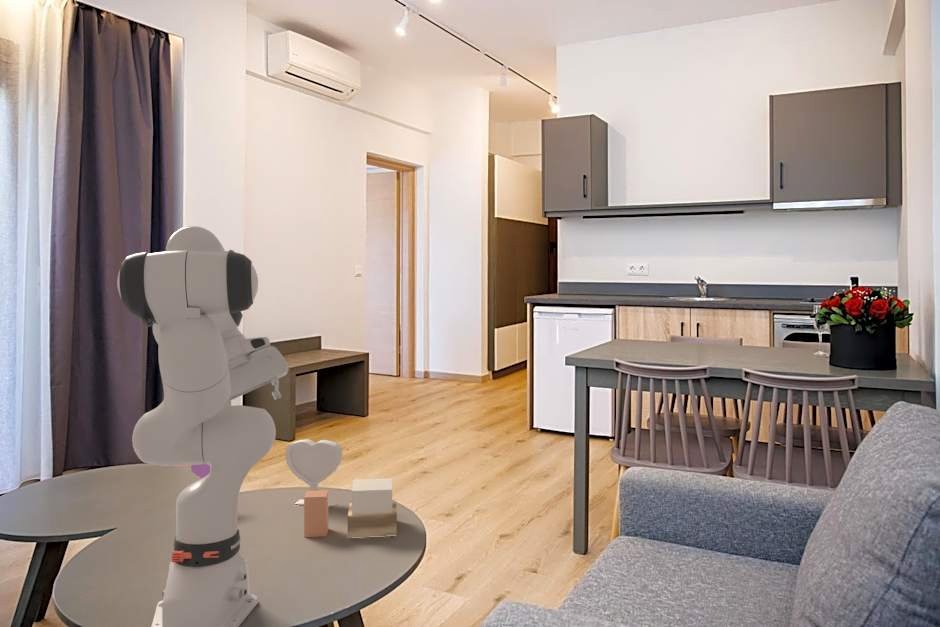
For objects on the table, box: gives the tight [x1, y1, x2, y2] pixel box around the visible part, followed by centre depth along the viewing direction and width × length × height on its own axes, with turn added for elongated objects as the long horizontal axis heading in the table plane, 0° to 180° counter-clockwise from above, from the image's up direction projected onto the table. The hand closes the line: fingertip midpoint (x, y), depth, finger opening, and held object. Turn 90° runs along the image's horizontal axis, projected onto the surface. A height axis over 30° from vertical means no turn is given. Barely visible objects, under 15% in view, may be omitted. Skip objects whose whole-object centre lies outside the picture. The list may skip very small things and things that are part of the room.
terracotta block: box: [303, 489, 329, 538], centre depth 174 cm, size 5×5×10 cm
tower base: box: [347, 499, 398, 539], centre depth 177 cm, size 12×12×6 cm
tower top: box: [351, 477, 393, 515], centre depth 177 cm, size 10×10×6 cm
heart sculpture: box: [284, 438, 343, 504], centre depth 198 cm, size 16×5×18 cm, turn 83°
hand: (259, 407), depth 160 cm, fingers open, 8 cm apart
